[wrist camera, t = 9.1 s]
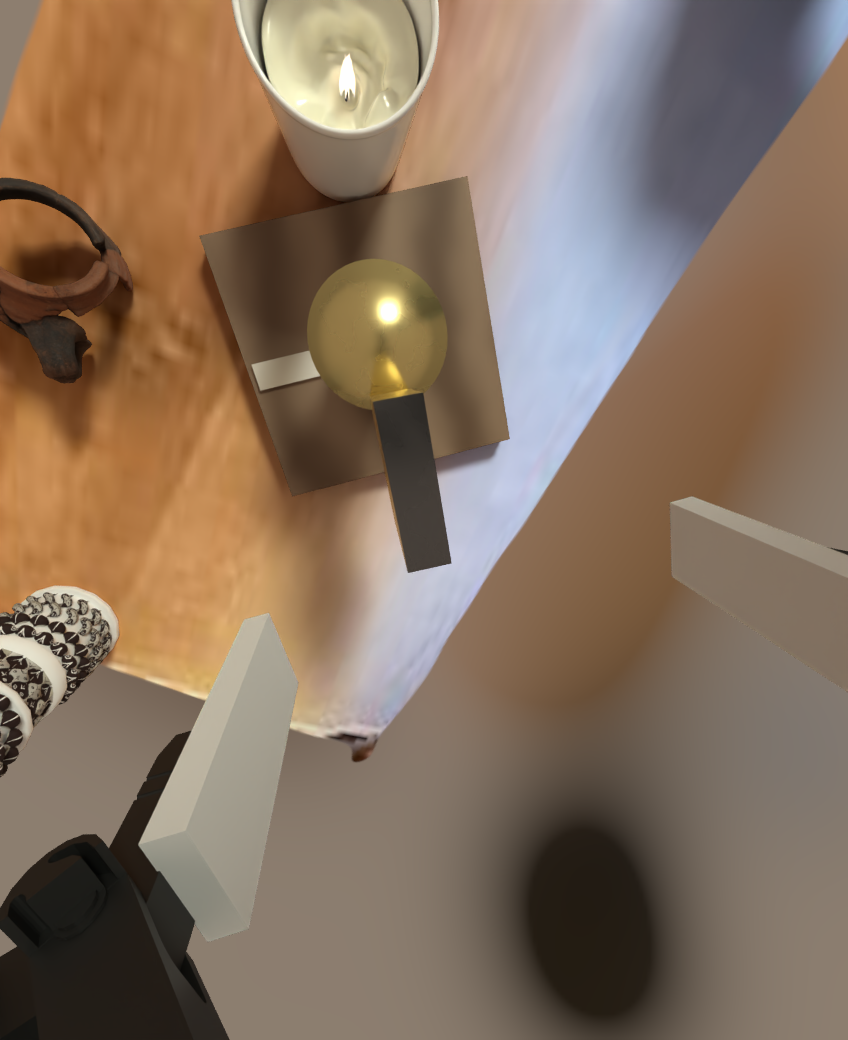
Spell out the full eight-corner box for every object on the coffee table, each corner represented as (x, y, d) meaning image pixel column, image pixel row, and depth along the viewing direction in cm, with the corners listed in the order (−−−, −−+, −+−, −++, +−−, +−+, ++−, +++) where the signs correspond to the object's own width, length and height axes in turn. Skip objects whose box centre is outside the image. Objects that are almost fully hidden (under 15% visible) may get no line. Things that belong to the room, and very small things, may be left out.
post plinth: (461, 187, 34) (501, 114, 24) (502, 435, 41) (546, 454, 31) (208, 243, 32) (148, 190, 23) (295, 490, 39) (276, 526, 30)
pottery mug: (-39, 239, 31) (-100, 148, 24) (117, 248, 36) (106, 175, 29) (16, 405, 32) (-26, 365, 25) (160, 392, 37) (160, 355, 30)
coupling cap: (296, 281, 25) (268, 238, 17) (428, 259, 26) (460, 208, 18) (356, 530, 31) (356, 584, 23) (464, 507, 31) (501, 552, 23)
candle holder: (371, 243, 34) (379, 180, 23) (252, 159, 31) (194, 39, 20) (434, 116, 32) (477, -23, 21) (313, 13, 29) (286, -211, 18)
